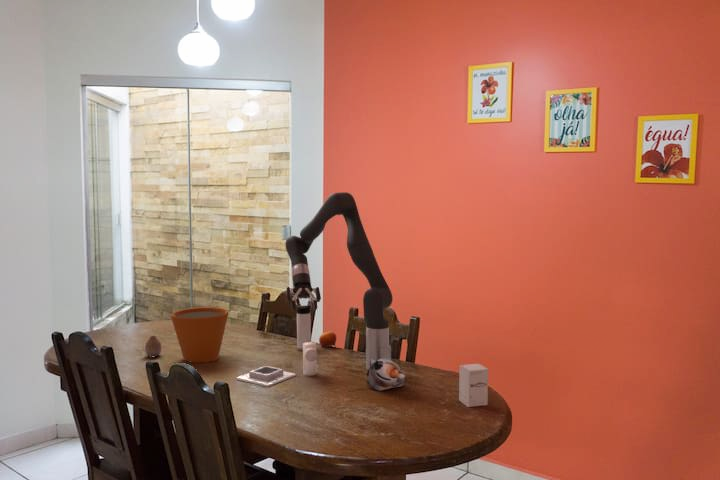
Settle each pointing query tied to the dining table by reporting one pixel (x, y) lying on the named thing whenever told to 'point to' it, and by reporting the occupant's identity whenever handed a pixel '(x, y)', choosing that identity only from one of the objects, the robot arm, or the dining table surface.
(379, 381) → the lucky cat figurine
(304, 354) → the elbow
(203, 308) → the flower pot
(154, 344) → the reddish brown teardrop
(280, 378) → the plate
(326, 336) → the fruit
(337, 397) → the dining table surface
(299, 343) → the travel mug
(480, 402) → the supplement box
